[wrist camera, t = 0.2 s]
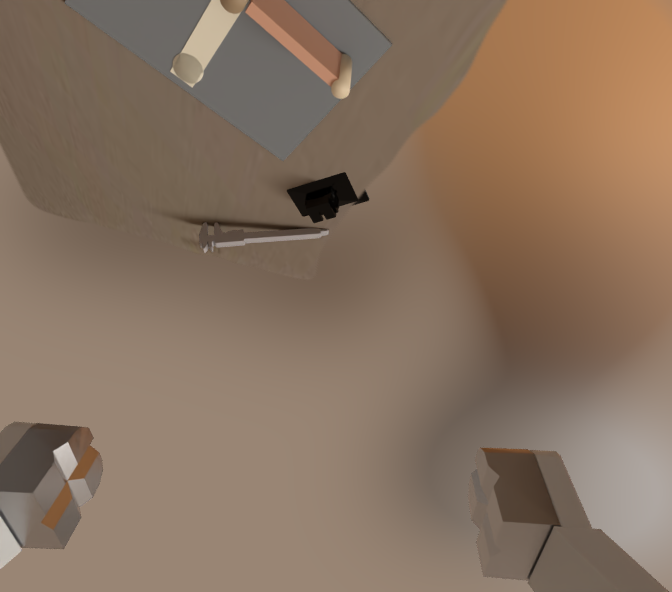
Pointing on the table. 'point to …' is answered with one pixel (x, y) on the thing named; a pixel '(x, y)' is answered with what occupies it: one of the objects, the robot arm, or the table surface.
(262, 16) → the fence panel
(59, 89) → the table surface
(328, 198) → the black angular piece
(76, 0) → the board
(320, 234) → the caliper
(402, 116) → the table surface
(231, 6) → the fixed fence
